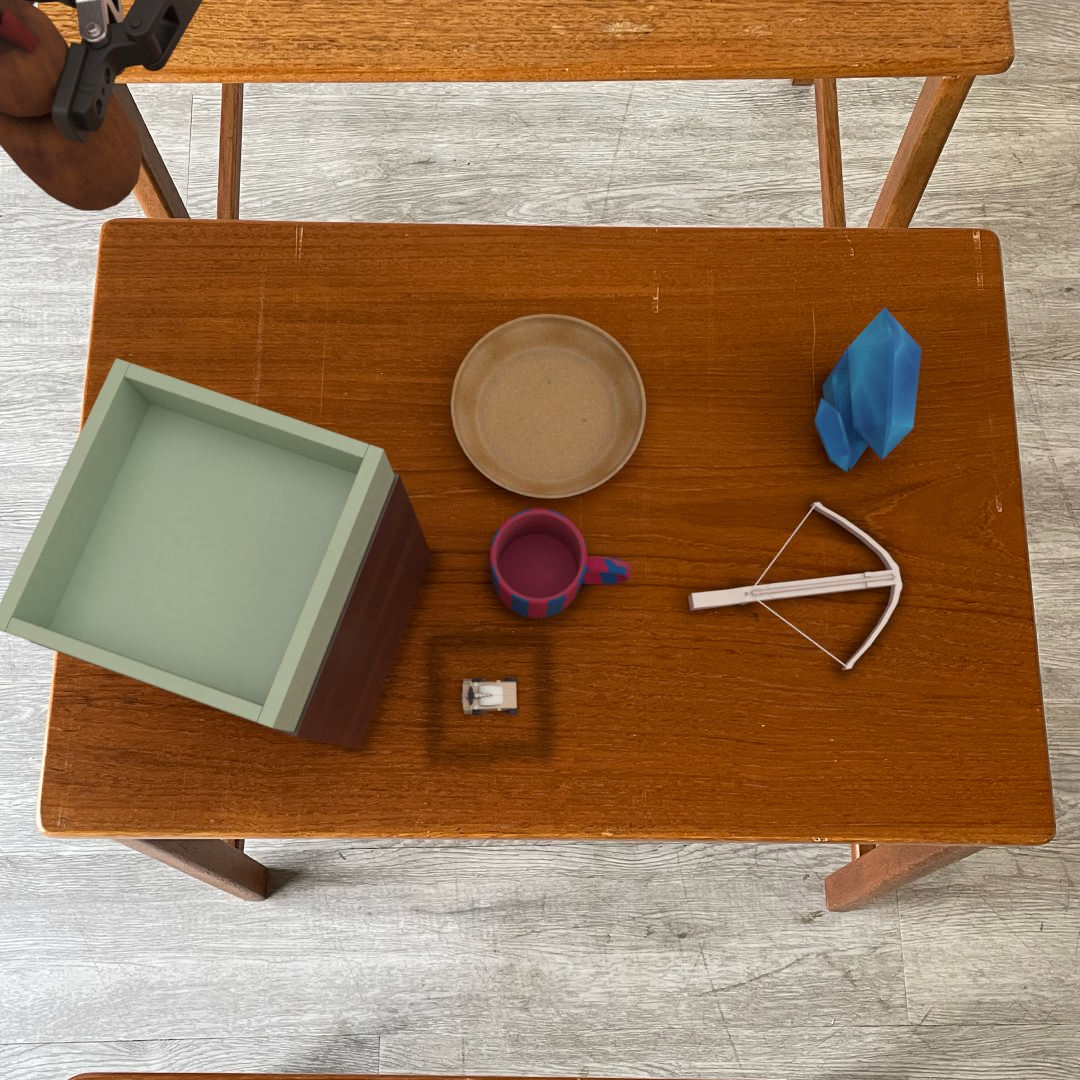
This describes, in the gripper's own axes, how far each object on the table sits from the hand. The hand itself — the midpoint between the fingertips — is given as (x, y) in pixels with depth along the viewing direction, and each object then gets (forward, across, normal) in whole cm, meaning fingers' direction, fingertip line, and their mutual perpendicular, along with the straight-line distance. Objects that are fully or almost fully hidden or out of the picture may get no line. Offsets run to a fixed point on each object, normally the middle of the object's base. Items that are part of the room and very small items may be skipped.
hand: (7, 120), depth 46 cm
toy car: (+19, +24, +35) cm, 47 cm away
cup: (+10, +28, +35) cm, 46 cm away
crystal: (-7, +48, +35) cm, 60 cm away
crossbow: (+8, +46, +35) cm, 58 cm away
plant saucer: (-3, +25, +35) cm, 43 cm away
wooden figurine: (-3, 0, +9) cm, 9 cm away
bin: (+16, +9, +13) cm, 23 cm away
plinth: (+16, +10, +35) cm, 40 cm away
